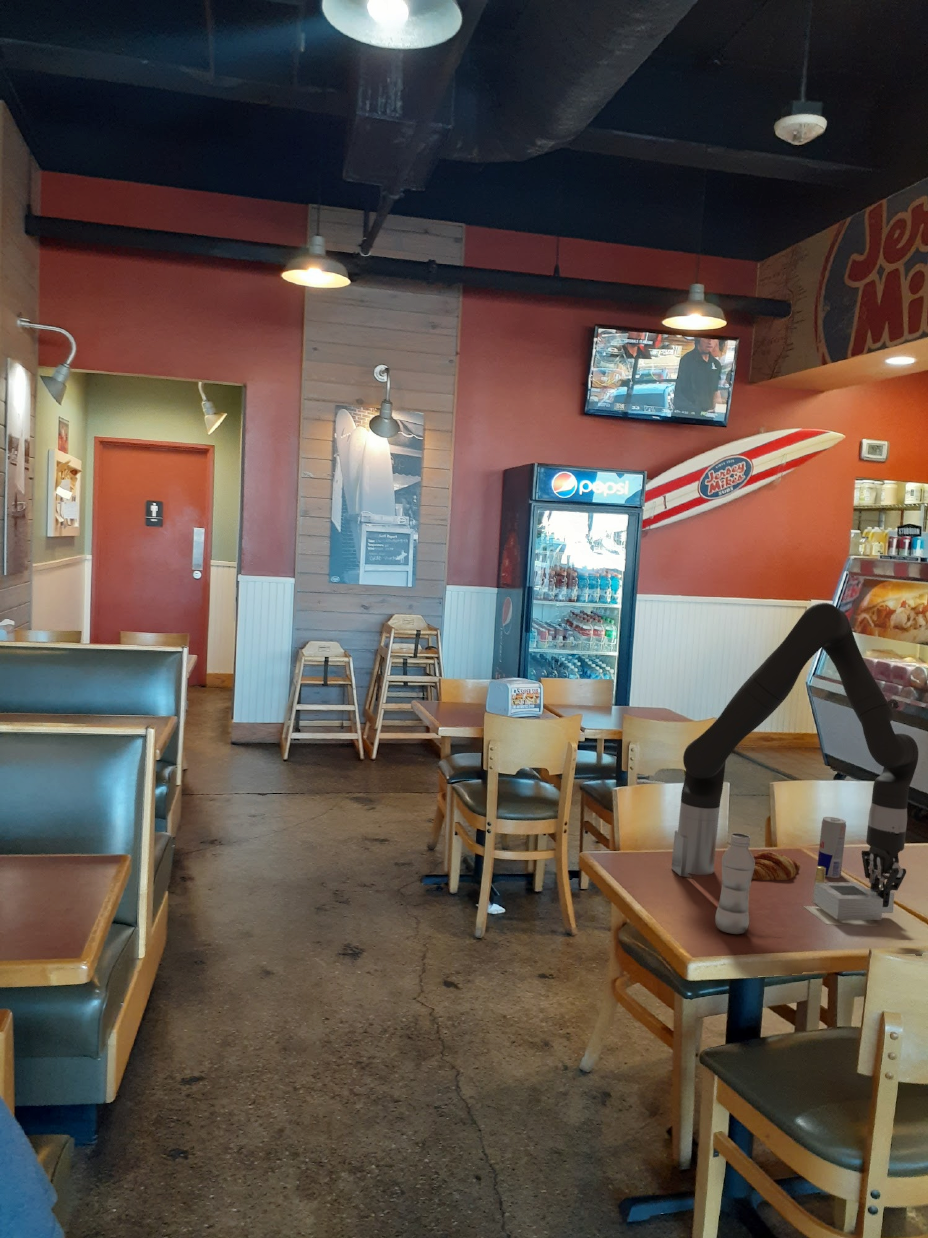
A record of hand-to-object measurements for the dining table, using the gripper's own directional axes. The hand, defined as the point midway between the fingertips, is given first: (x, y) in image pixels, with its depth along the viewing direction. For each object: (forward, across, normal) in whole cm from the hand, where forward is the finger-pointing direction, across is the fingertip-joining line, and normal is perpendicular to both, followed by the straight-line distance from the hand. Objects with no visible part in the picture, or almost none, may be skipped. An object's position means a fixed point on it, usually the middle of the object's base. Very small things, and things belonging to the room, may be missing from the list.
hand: (878, 903), depth 202 cm
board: (+4, -4, -8) cm, 10 cm away
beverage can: (+4, -28, +4) cm, 29 cm away
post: (+3, -8, -10) cm, 13 cm away
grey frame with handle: (+2, 0, -5) cm, 5 cm away
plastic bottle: (+4, +8, -37) cm, 38 cm away
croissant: (+5, -27, -11) cm, 30 cm away
